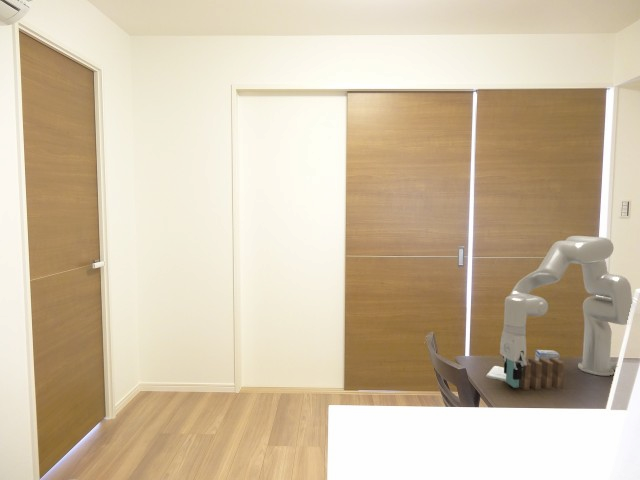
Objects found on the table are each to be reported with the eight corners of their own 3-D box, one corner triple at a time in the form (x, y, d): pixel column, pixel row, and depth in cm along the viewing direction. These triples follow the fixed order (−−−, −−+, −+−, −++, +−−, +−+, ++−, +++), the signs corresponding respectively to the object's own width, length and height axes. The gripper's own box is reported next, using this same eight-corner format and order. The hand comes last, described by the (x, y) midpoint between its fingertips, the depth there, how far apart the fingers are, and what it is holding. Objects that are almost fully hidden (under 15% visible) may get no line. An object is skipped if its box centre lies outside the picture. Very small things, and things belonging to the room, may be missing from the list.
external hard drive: (514, 373, 169) (507, 383, 159) (493, 369, 174) (486, 378, 164) (514, 370, 169) (508, 379, 159) (494, 365, 174) (486, 374, 164)
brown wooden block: (531, 383, 158) (533, 358, 157) (540, 389, 153) (541, 363, 152) (527, 383, 157) (528, 358, 157) (535, 389, 152) (536, 363, 152)
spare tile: (513, 387, 151) (514, 361, 150) (505, 381, 156) (507, 356, 155) (518, 387, 151) (519, 361, 151) (510, 381, 156) (511, 356, 156)
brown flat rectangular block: (542, 383, 158) (543, 358, 158) (551, 388, 153) (552, 362, 153) (537, 383, 158) (539, 358, 157) (546, 388, 153) (547, 363, 152)
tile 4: (521, 384, 157) (522, 359, 156) (529, 389, 152) (530, 363, 151) (516, 384, 157) (517, 359, 156) (524, 390, 152) (525, 364, 151)
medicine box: (553, 370, 172) (554, 350, 171) (558, 374, 167) (559, 353, 167) (534, 369, 172) (535, 349, 172) (538, 373, 168) (539, 353, 167)
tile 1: (553, 382, 159) (554, 357, 158) (562, 388, 154) (563, 362, 153) (548, 382, 159) (549, 358, 158) (557, 388, 154) (558, 362, 153)
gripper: (492, 323, 160) (490, 368, 161) (519, 336, 143) (517, 386, 145) (510, 322, 161) (508, 367, 162) (538, 335, 144) (536, 385, 146)
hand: (512, 375), depth 154 cm, fingers closed on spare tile, 4 cm apart
